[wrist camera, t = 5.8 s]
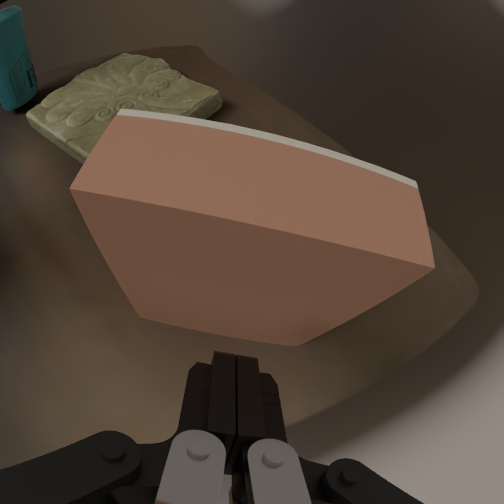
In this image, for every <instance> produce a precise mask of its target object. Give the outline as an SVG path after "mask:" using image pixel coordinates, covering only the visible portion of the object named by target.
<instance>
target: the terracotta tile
mask: <svg viewBox="0 0 504 504" xmlns="http://www.w3.org/2000/svg"><path fill="white" fill-rule="evenodd" d="M70 191H71V193H72V196H73V198H74V200H75V202H76V204H77V206H78V208H79V211H80V213H81V215H82V217H83V219H84V221H85V223H86V225H87V227H88V229H89V231H90V233H91V235H92V237H93V239H94V240H95V242H96V244H97V246H98V248H99V250H100V252H101V253H102V255H103V257H104V259H105V261H106V263H107V264H108V266H109V268H110V270H111V271H112V273H113V275H114V276H115V278H116V280H117V282H118V283H119V285H120V287H121V288H122V290H123V292H124V293H125V295H126V296H127V298H128V300H129V301H130V303H131V304H132V306H133V308H134V309H135V311H136V312H137V314H138V315H139V317H140V318H144V319H148V320H152V321H156V322H160V323H164V324H169V325H173V326H178V327H182V328H187V329H192V330H196V331H201V332H206V333H212V334H217V335H222V336H228V337H233V338H239V339H245V340H251V341H257V342H263V343H270V344H277V345H284V346H291V347H297V346H300V345H302V344H304V343H306V342H308V341H310V340H312V339H314V338H316V337H318V336H320V335H322V334H324V333H326V332H328V331H330V330H332V329H334V328H335V327H337V326H339V325H341V324H343V323H345V322H347V321H349V320H350V319H352V318H354V317H356V316H358V315H360V314H361V313H363V312H365V311H367V310H369V309H370V308H372V307H374V306H375V305H377V304H379V303H381V302H382V301H384V300H386V299H387V298H389V297H391V296H392V295H394V294H396V293H397V292H399V291H401V290H402V289H404V288H406V287H407V286H409V285H410V284H412V283H414V282H415V281H417V280H418V279H420V278H421V277H423V276H424V275H426V274H427V273H429V272H431V271H432V270H434V269H435V265H434V258H433V253H432V247H431V242H430V237H429V232H428V227H427V223H426V218H425V214H424V210H423V206H422V202H421V198H420V194H419V190H418V187H417V183H416V181H414V180H411V179H409V178H407V177H404V176H402V175H399V174H397V173H394V172H391V171H388V170H386V169H384V168H381V167H378V166H375V165H373V164H370V163H367V162H364V161H361V160H359V159H356V158H353V157H350V156H347V155H344V154H341V153H338V152H335V151H331V150H328V149H325V148H322V147H318V146H315V145H312V144H308V143H305V142H301V141H297V140H294V139H290V138H286V137H283V136H279V135H275V134H271V133H267V132H262V131H258V130H254V129H249V128H245V127H240V126H236V125H231V124H226V123H221V122H215V121H210V120H204V119H199V118H193V117H186V116H180V115H173V114H166V113H158V112H150V111H141V110H131V109H120V111H119V112H118V113H117V115H116V116H115V117H114V119H113V120H112V122H111V123H110V124H109V126H108V127H107V129H106V130H105V132H104V133H103V135H102V136H101V137H100V139H99V140H98V142H97V144H96V145H95V147H94V148H93V150H92V151H91V153H90V154H89V156H88V158H87V159H86V161H85V163H84V164H83V166H82V168H81V169H80V171H79V173H78V174H77V176H76V178H75V180H74V181H73V183H72V185H71V187H70Z"/></svg>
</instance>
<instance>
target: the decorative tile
mask: <svg viewBox="0 0 504 504" xmlns="http://www.w3.org/2000/svg"><path fill="white" fill-rule="evenodd" d="M222 104H223V100H222V99H221V98H220V94H219V91H218V90H216V89H213V88H211V87H209V86H205V85H202V84H200V83H197V82H195V81H192V80H190V79H187V78H185V77H184V76H183V75H182V74H181V73H180V72H178V71H176V70H172V69H170V67H169V65H168V64H167V63H165V62H164V61H163V60H162V59H159V58H157V59H153V58H149V57H146V56H142V55H131V54H127V53H124V54H121V55H119V56H117V57H115V58H113V59H111V60H109V61H107V62H105V63H104V64H102V65H100V66H98V67H97V68H91V69H88V70H86V71H84V72H82V73H81V74H79V75H77V76H76V77H75V78H74V79H73V80H72V81H71V82H70V83H68V84H67V85H66V86H64V87H61V88H59V89H57V90H55V91H53V92H52V93H50V94H49V95H48V96H47V97H46V98H44V99H43V101H42V102H41V103H40V104H38V105H37V106H35V107H34V108H32V109H31V110H29V111H28V113H27V114H26V116H27V119H28V121H29V123H30V125H31V127H33V128H34V129H35V130H37V131H38V132H39V133H41V134H42V135H43V136H45V137H46V138H47V139H49V140H50V141H51V142H53V143H54V144H56V145H57V146H58V147H60V148H61V149H62V150H64V151H65V152H67V153H68V154H69V155H71V156H72V157H73V158H75V159H76V160H78V161H79V162H80V163H82V164H84V163H85V161H86V159H87V158H88V156H89V154H90V153H91V151H92V150H93V148H94V147H95V145H96V144H97V142H98V140H99V139H100V137H101V136H102V135H103V133H104V132H105V130H106V129H107V127H108V126H109V124H110V123H111V122H112V120H113V119H114V117H115V116H116V115H117V113H118V112H119V111H120V109H131V110H141V111H150V112H158V113H166V114H173V115H180V116H186V117H193V118H199V119H204V120H206V119H207V118H209V117H210V116H211V115H212V114H214V113H215V112H216V111H218V110H219V109H220V108H221V106H222Z"/></svg>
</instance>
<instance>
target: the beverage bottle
mask: <svg viewBox="0 0 504 504" xmlns="http://www.w3.org/2000/svg"><path fill="white" fill-rule="evenodd" d="M5 1H7V0H0V4H1V3H3V2H5ZM26 39H27V38H26V35H25V30H24V25H23V18H22V9H21V8H20V7H17V6H14V5H12V6H9V7H7V8H5V9H3V10H0V103H1V105H2V107H3V108H4V109H5V110H13V109H16V108H18V107H20V106H22V105H24V104H25V103H27V102H28V101H29V100H30V99H32V98H33V97H34V96H35V94H36V93H37V87H38V86H37V83H36V81H37V80H36V77H35V76H36V75H35V73H34V69H33V65H32V63H31V58H30V53H29V49H28V45H27V40H26Z"/></svg>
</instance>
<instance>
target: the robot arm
mask: <svg viewBox="0 0 504 504" xmlns="http://www.w3.org/2000/svg"><path fill="white" fill-rule="evenodd" d="M280 406H281V403H280V398H279V391H278V386H277V383H276V382H275V380H274V379H273V378H272V376H271V375H270V374H267V373H259V366H258V359H257V358H254V357H248V356H241V355H236V357H235V354H229V353H224V352H218V351H214V354H213V359H212V363H211V365H210V364H205V363H200V362H197V363H196V364H195V365H194V366H193V367H192V368H191V369H190V370H189V373H188V378H187V383H186V388H185V393H184V398H183V404H182V409H181V414H180V420H179V425H178V429H177V431H176V433H175V434H174V435H173V436H172V437H171V438H170V439H168V440H166V441H164V442H161V443H155V444H136V442H135V441H134V440H133V439H132V438H130V437H129V436H127V435H125V434H123V433H120V432H117V431H102V432H99V433H96V434H94V435H92V436H89V437H87V438H85V439H83V440H80V441H78V442H75V443H73V444H71V445H68V446H66V447H63V448H61V449H58V450H56V451H53V452H51V453H48V454H45V455H43V456H40V457H37V458H35V459H32V460H29V461H26V462H23V463H20V464H17V465H14V466H11V467H8V468H5V469H2V470H0V504H220V500H221V491H222V483H223V474H228V475H232V486H231V488H230V490H229V504H423V503H422V502H420V501H418V500H417V499H415V498H414V497H412V496H410V495H409V494H407V493H406V492H404V491H402V490H401V489H399V488H398V487H396V486H395V485H393V484H391V483H390V482H388V481H387V480H385V479H384V478H382V477H381V476H379V475H378V474H376V473H375V472H374V471H372V470H370V469H369V468H368V467H366V466H365V465H363V464H362V463H360V462H359V461H356V460H353V459H348V458H344V459H338V460H336V461H334V462H333V463H331V464H330V466H327V465H323V464H319V463H315V462H311V461H308V460H305V459H303V458H301V457H299V456H298V455H297V453H296V452H295V450H294V449H293V448H292V447H291V446H290V445H288V443H287V438H286V432H285V427H284V421H283V415H282V409H281V407H280Z"/></svg>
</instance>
